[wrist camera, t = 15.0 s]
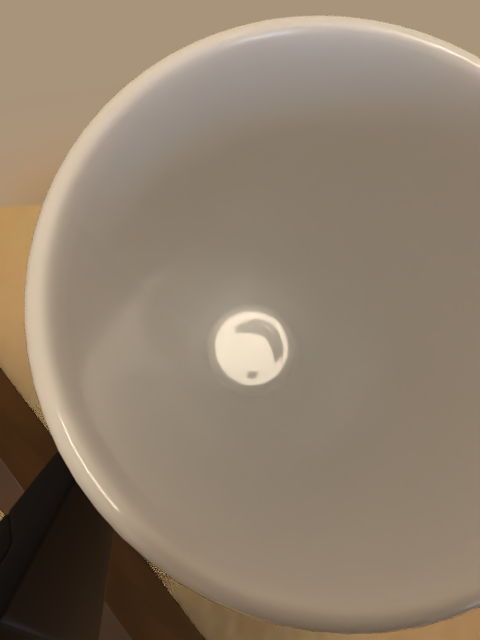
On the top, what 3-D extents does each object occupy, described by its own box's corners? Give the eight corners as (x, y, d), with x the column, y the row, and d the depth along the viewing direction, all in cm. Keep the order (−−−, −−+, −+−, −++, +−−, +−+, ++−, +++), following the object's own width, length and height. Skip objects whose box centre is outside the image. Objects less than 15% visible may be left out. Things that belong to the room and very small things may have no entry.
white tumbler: (169, 331, 18) (-107, 163, 3) (267, 274, 19) (417, -81, 4) (229, 434, 17) (236, 850, 2) (329, 370, 18) (804, 387, 3)
